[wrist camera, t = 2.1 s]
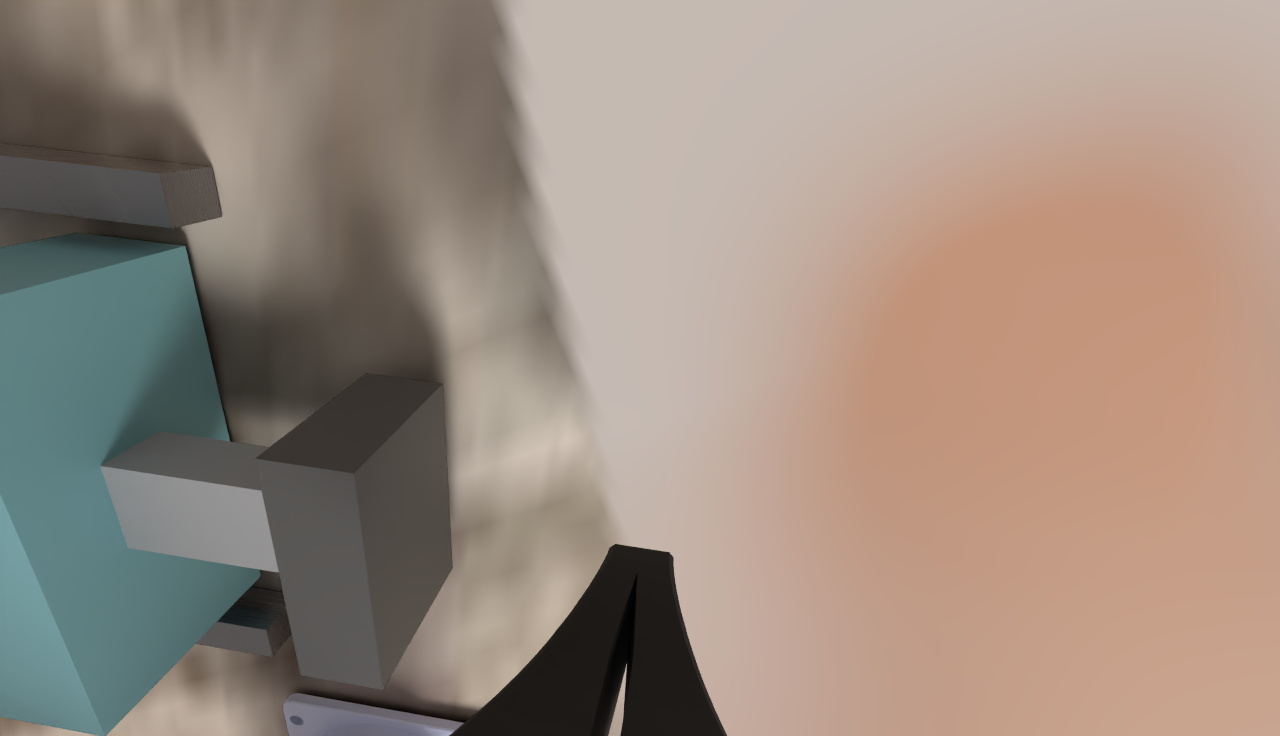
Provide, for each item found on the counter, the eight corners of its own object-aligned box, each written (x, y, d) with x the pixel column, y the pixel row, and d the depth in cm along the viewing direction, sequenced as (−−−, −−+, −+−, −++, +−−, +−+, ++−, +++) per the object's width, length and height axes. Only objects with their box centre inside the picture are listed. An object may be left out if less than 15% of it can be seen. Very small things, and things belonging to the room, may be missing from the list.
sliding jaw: (466, 610, 19) (377, 788, 14) (176, 562, 20) (-6, 715, 15) (451, 278, 15) (312, 368, 10) (76, 232, 15) (-234, 294, 10)
